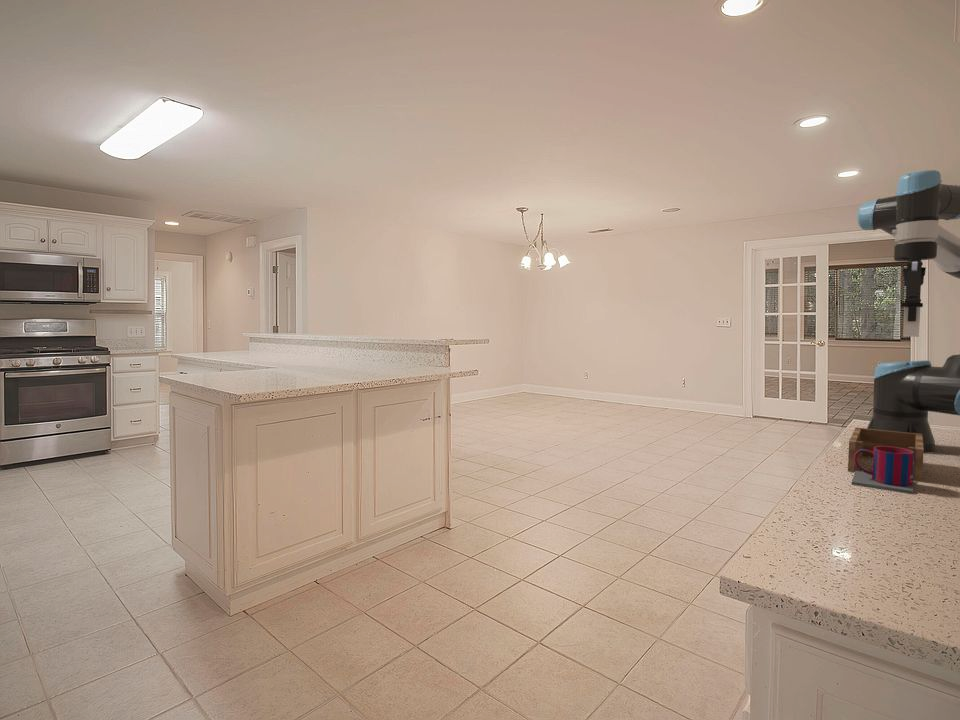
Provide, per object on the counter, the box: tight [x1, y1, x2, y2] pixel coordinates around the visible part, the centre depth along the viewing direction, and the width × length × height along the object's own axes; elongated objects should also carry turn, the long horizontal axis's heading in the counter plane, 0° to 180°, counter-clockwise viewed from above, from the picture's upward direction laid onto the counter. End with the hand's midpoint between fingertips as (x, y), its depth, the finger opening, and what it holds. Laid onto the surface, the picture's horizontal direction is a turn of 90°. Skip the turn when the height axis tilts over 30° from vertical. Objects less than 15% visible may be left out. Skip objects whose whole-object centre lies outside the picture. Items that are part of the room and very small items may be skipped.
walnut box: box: [847, 427, 925, 482], centre depth 123 cm, size 19×13×7 cm
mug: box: [854, 446, 914, 486], centre depth 111 cm, size 7×10×7 cm
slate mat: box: [851, 471, 914, 495], centre depth 111 cm, size 10×10×1 cm
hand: (910, 335), depth 121 cm, fingers open, 13 cm apart
